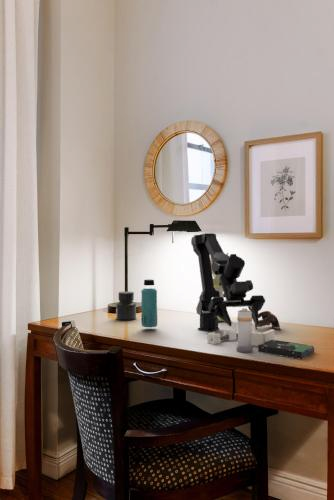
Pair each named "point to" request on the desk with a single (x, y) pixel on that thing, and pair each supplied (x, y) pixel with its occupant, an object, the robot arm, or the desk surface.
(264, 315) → the dark brown curved piece
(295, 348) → the disk drive
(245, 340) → the white squeeze bottle
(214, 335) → the cable clips
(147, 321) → the beverage bottle
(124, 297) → the ink bottle
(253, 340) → the end holder
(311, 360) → the desk surface
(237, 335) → the cable
